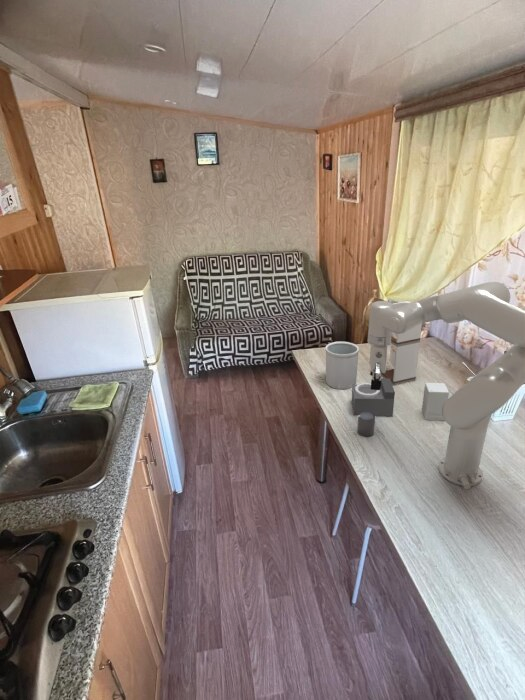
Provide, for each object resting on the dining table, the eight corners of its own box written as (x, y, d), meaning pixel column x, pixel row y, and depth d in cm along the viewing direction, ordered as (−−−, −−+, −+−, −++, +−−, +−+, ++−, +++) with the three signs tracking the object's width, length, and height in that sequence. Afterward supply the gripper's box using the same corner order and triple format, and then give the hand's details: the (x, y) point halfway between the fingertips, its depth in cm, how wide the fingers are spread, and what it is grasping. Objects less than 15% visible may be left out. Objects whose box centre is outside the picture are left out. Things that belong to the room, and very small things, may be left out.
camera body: (392, 416, 153) (394, 392, 148) (353, 415, 155) (354, 391, 150) (388, 401, 163) (390, 378, 158) (351, 400, 165) (352, 378, 160)
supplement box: (445, 421, 148) (449, 392, 143) (424, 420, 150) (428, 391, 144) (441, 410, 154) (445, 382, 149) (421, 409, 156) (424, 382, 151)
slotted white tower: (401, 370, 186) (407, 300, 172) (415, 380, 177) (423, 307, 162) (380, 375, 183) (385, 304, 169) (393, 385, 174) (400, 311, 160)
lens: (375, 437, 142) (376, 420, 139) (357, 436, 143) (358, 420, 140) (372, 427, 147) (373, 411, 144) (356, 426, 148) (357, 411, 145)
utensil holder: (337, 371, 190) (337, 338, 183) (363, 380, 180) (365, 346, 173) (318, 382, 181) (318, 348, 173) (345, 393, 171) (346, 357, 163)
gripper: (392, 350, 121) (387, 396, 129) (389, 328, 136) (384, 371, 144) (368, 348, 123) (364, 394, 130) (367, 327, 138) (364, 369, 145)
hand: (375, 382), depth 137 cm, fingers open, 9 cm apart
